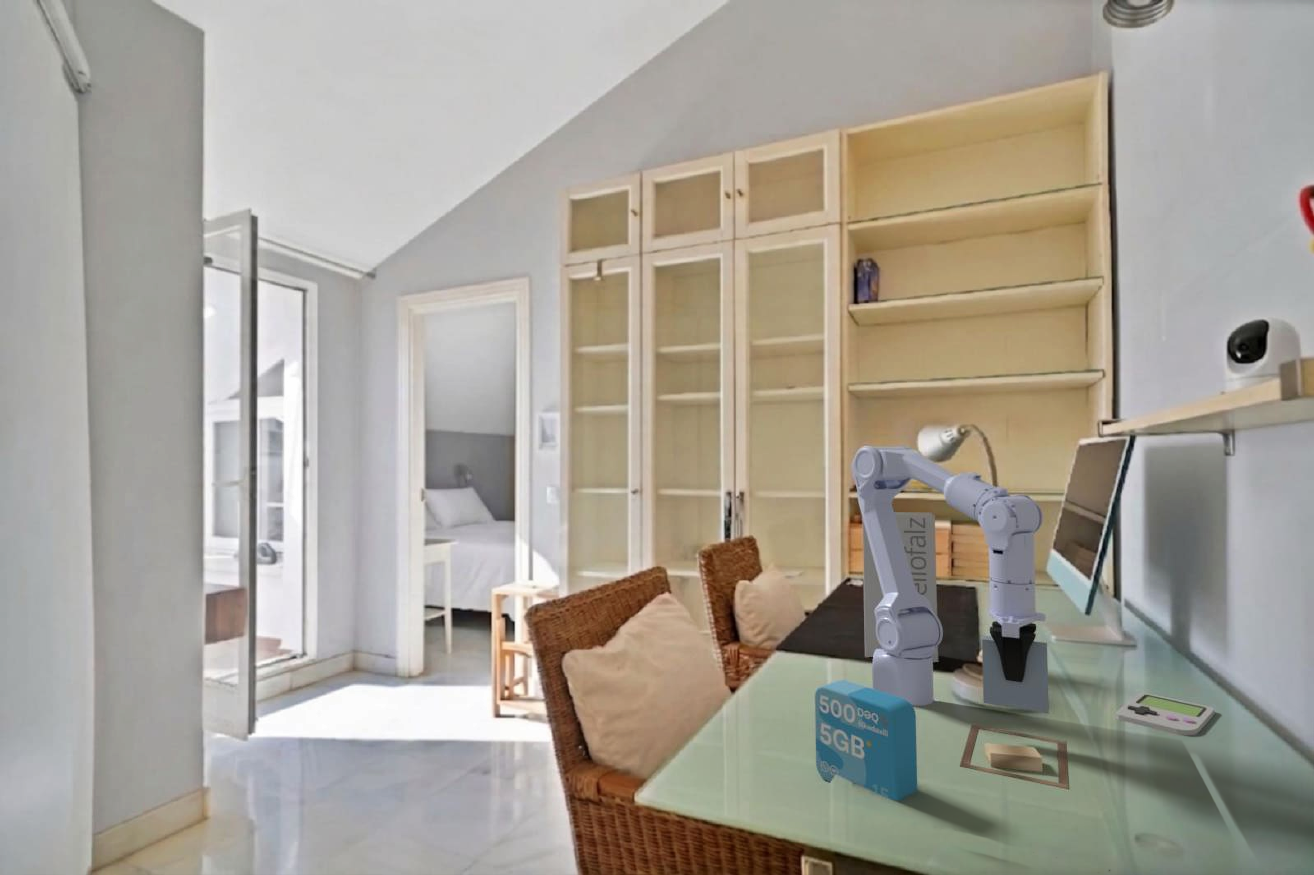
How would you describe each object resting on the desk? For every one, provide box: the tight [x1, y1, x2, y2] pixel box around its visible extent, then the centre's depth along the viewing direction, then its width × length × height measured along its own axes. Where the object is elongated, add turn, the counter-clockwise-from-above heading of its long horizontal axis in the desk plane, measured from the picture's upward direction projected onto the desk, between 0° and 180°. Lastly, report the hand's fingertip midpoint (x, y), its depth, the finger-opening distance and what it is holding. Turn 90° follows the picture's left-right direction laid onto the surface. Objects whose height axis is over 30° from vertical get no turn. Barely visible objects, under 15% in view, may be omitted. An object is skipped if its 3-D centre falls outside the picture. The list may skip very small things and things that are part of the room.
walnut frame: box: [959, 724, 1069, 790], centre depth 89 cm, size 12×16×2 cm
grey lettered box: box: [861, 511, 939, 663], centre depth 139 cm, size 14×6×30 cm, turn 73°
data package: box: [814, 679, 918, 802], centre depth 83 cm, size 12×4×12 cm, turn 37°
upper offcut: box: [984, 742, 1043, 773], centre depth 86 cm, size 6×3×2 cm, turn 76°
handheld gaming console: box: [1115, 692, 1215, 736], centre depth 106 cm, size 10×2×15 cm
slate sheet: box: [981, 634, 1050, 714], centre depth 93 cm, size 8×2×9 cm, turn 59°
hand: (1014, 677), depth 93 cm, fingers closed on slate sheet, 2 cm apart
